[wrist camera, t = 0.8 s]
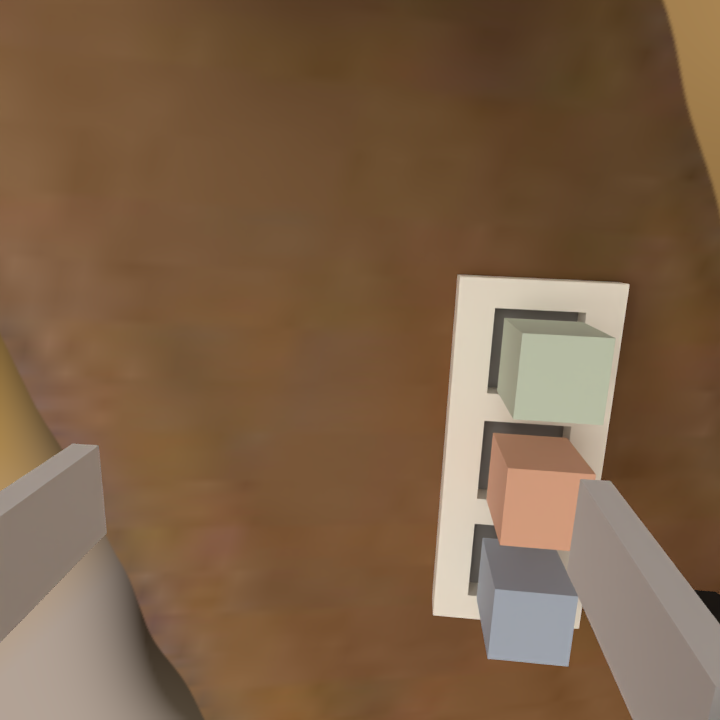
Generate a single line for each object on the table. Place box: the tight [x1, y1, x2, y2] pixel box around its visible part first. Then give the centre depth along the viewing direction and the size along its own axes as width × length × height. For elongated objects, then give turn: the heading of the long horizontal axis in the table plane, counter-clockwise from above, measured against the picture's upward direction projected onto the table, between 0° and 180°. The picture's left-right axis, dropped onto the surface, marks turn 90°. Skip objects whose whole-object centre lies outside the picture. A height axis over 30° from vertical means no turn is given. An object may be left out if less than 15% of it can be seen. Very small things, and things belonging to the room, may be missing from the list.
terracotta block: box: [486, 433, 596, 551], centre depth 35 cm, size 5×5×6 cm
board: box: [432, 274, 630, 629], centre depth 40 cm, size 26×11×2 cm, turn 178°
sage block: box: [497, 318, 616, 425], centre depth 34 cm, size 5×5×6 cm
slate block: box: [477, 538, 578, 666], centre depth 37 cm, size 5×5×6 cm
